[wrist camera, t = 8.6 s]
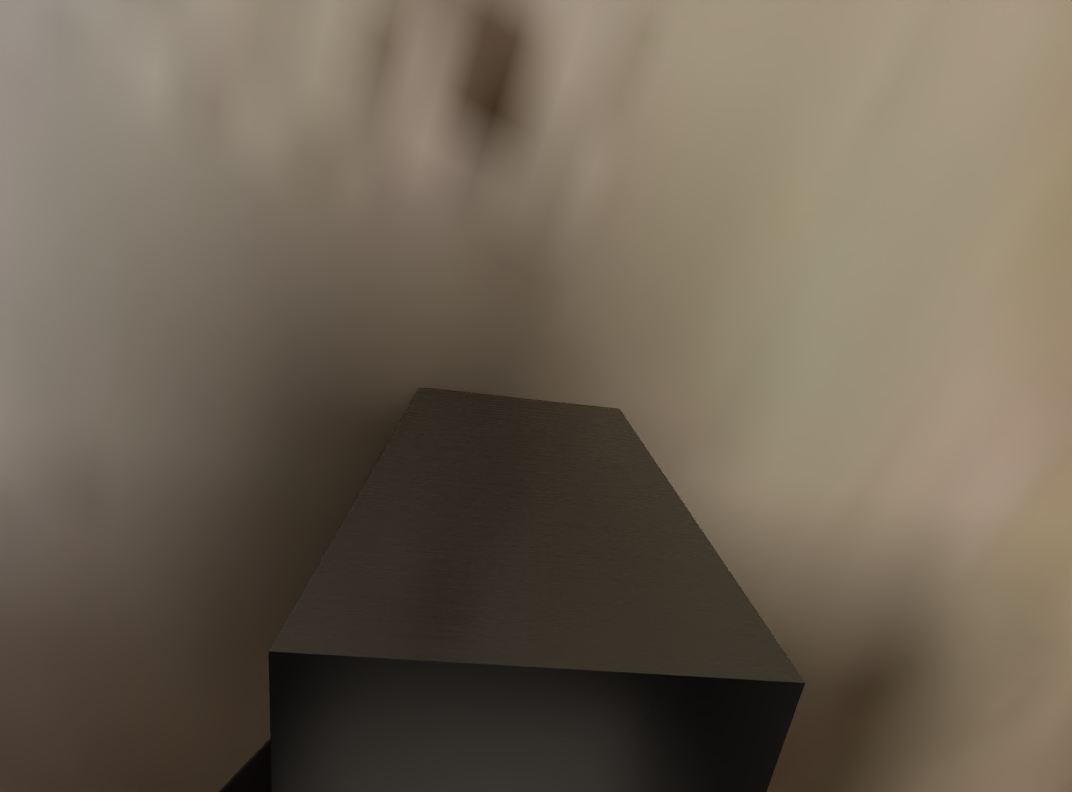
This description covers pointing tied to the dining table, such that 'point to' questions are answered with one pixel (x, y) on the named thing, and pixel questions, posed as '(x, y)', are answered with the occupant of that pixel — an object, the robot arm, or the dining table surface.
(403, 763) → the blade tool
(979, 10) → the dining table surface
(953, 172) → the dining table surface
